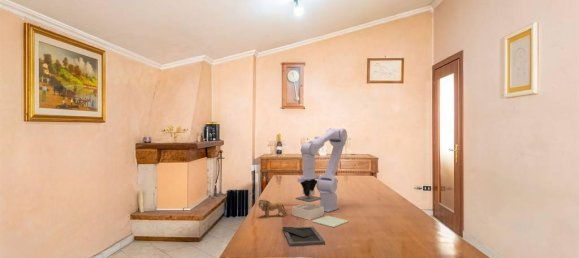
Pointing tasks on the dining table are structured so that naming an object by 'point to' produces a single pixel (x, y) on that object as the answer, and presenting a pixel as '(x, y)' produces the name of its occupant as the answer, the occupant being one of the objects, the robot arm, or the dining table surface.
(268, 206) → the lion figurine
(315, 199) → the grey cover
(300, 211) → the tray
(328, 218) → the sage mat
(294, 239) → the picture frame
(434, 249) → the dining table surface
